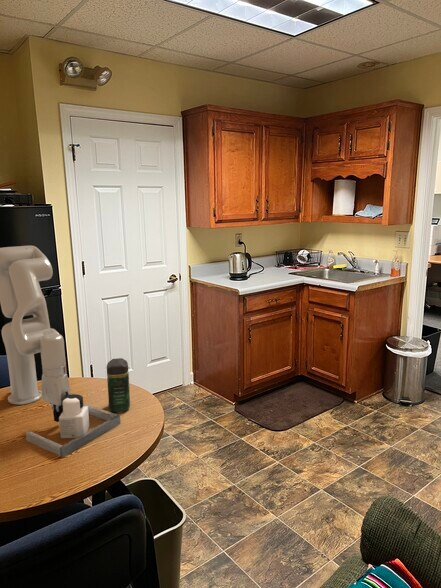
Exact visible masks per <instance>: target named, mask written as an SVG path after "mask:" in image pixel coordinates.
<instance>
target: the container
mask: <svg viewBox="0 0 441 588" xmlns="http://www.w3.org/2000/svg"><path fill="white" fill-rule="evenodd" d="M62 404H63V412H62V414H61V415H60V417H59V423H58V424H59V433H60V438H61V439H76V438H77V437H79V436H81V435H83V434H85V433H86V432H88V431H89V429H90V414H89V413H88V407H87V406H83V404H84V397H83V396H82V395H81V394H76V393H75V394H74V393H73V394H72V393H71V395H68V396H66V397H64V398H63V400H62Z"/></svg>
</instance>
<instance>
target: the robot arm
mask: <svg viewBox="0 0 441 588" xmlns="http://www.w3.org/2000/svg"><path fill="white" fill-rule="evenodd" d="M53 274H54V273H53V267H52V264H51V262H50V260H49V259H48V257H47V256H46V255H45V254H44V253H43V252H42V251H41V250H40V249H39V248H38V247H37V246H35V245H21V246H19V245H18V246H7V247H6V246H5V247H0V307H1V308H0V309H1V312H2V314H3V315H4V317H5V318H8V319H12V320H11V321H10V322H7V323H6V324H4V325H3V326H2V329H1V330H0V331H1V337H2V342H3V344H4V347H5V352H6V358H7V365H8V373H9V375H8V376H9V381H10V386H8V388H7V389H8V390H10V393H11V394H10V395H8V397H7V402H8V403H9V404H12V405H19V406H20V405H21V406H22V405H28V404H32V403H34V402H36V401H39V400H40V399H41V398H42V400H43V401H44V402H46V403H48V404H50V407H51V410H52V414H53V421H54V422H56V423H58V422H59V417H60V415H61V414H62V412H63V404H62V400H63V398H64V397H66V396H68V395H72V393H71V388H70V387H71V386H70V381H69V377H68V374H67V373H68V372H67V362H66V361H67V360H66V351H65V340H64V337H63V335H62V334H60V333H59V332H58V331H57V330H56V329H55V328H52V327H51V324H50V319H49V312H48V307H47V301H46V298H45V296H44V293H43V291H42V289H41V285H40V282H42V281H43V282H44V281H49V280H50V279H52V277H53ZM26 316H32V317H31V318H26V319H25V318H24V317H26ZM23 318H24V319H23ZM38 353H40V359H41V360H40V361H41V366H42V367H41V369H42V374H41V389H38V381H37V379H38V378H37V371H36V370H37V369H36V360H35V355H36V354H38Z"/></svg>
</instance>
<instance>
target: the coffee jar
mask: <svg viewBox="0 0 441 588" xmlns="http://www.w3.org/2000/svg"><path fill="white" fill-rule="evenodd" d="M106 380H107V395H108V396H107V397H108V398H107V399H108V409H109V412H111V413H122V412H126V411H128V410H129V409H130V407H131V396H130V373H129V363H128V361H127V360H125V359H124V358H123V357H121V358H120V357H119V358H112V359H111V360H109V361H108V362H107V363H106Z"/></svg>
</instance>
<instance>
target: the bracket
mask: <svg viewBox="0 0 441 588" xmlns="http://www.w3.org/2000/svg"><path fill="white" fill-rule="evenodd" d="M83 406H87V407H88V413H89V416H92V417H95V418H97V419H101V420H102V421H103V420H104V422H103V423H101V424H99V425H97V426H95V427H94V428H91V429H90V430H87V432H86V433H85V434H83V435H81V436H79V437H77V438H73V439H71V441H68V442H67V443H65V444H63V445H62V444H60V443H57V442H56V441H53V440H51V439H49V438H47V437H46V438H45V437H44V436H42V435H39V434H38V433H36V432H33V431H30V430H28V431H26V432H25V437H26V441H27V442H29V443H31V444H32V445H36V446H37V447H40V448H42V449H44V450H46V451H48V452H50V453H52V454H55V455H57V456H59V457H61V458H65V457H66V456H68V455H69V454H71V453H73V452H75V451H77V450H78V449H80V448H82V447H83V446H85V445H87V444H88V443H90V442H92V441H93V440H95V439H97V438H98V437H100V436H102V435H104V434H106V433H107V432H109V431H110V430H112V429H114V428H116V427H117V426H119V425H120V424H121V421H122V420H121V415H119V414H116V413H115V412H111V411H108V410H106V409H105V410H104V409H102V408H100V407H97V406H94V405H91V404H87V403H84V402H83Z"/></svg>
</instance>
